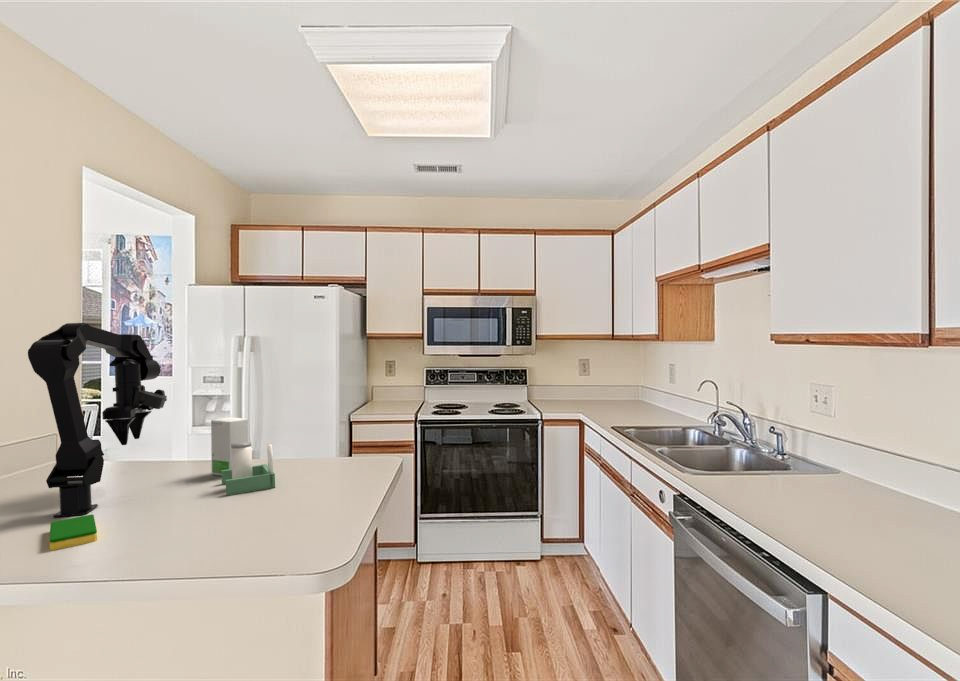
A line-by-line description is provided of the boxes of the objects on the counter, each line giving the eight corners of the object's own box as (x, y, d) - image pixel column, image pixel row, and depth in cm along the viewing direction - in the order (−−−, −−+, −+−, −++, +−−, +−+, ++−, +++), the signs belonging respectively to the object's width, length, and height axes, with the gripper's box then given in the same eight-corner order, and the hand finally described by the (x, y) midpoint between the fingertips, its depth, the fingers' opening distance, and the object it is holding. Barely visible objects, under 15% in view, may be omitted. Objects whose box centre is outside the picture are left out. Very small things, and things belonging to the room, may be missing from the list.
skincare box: (211, 475, 155) (208, 420, 155) (231, 469, 161) (229, 416, 161) (231, 477, 151) (228, 421, 151) (251, 471, 157) (248, 417, 157)
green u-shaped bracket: (226, 495, 133) (224, 452, 133) (221, 483, 145) (220, 443, 145) (275, 487, 139) (273, 446, 139) (266, 476, 150) (265, 438, 150)
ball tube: (251, 487, 139) (250, 444, 139) (231, 489, 138) (229, 445, 138) (254, 483, 144) (252, 441, 144) (234, 485, 143) (232, 442, 143)
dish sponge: (49, 553, 100) (49, 539, 100) (51, 533, 111) (50, 521, 111) (97, 543, 105) (96, 530, 105) (94, 525, 116) (93, 513, 116)
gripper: (151, 383, 137) (153, 445, 137) (172, 378, 155) (174, 433, 155) (100, 386, 134) (103, 449, 135) (127, 380, 152) (130, 436, 153)
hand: (130, 441), depth 144 cm, fingers open, 9 cm apart
